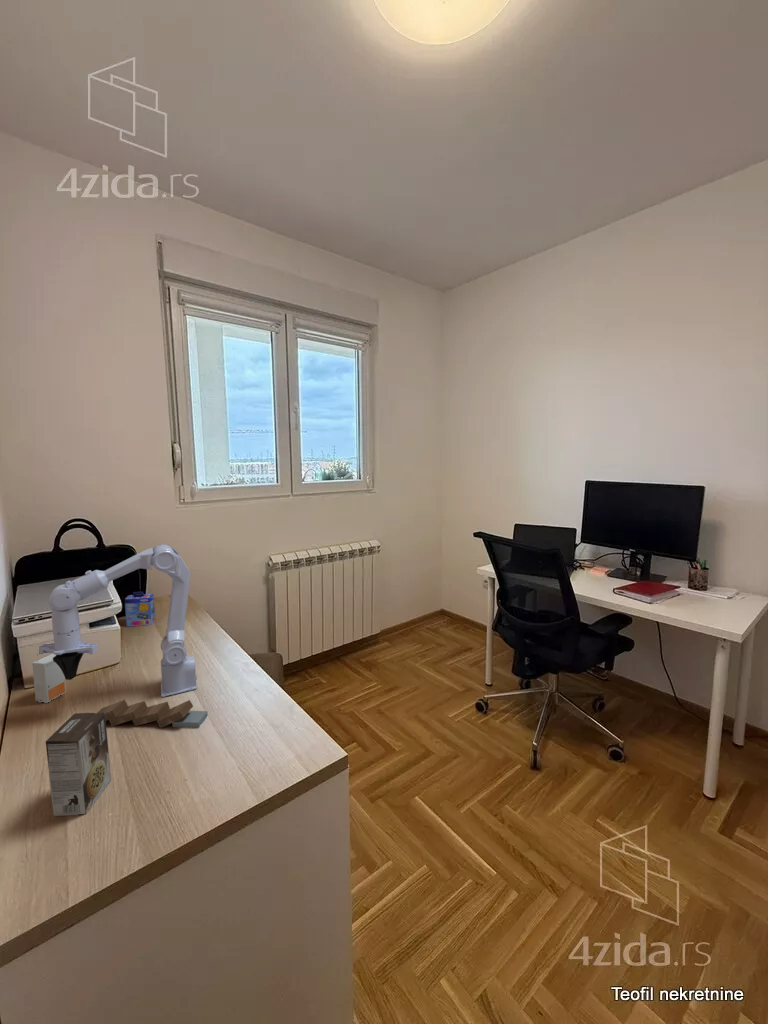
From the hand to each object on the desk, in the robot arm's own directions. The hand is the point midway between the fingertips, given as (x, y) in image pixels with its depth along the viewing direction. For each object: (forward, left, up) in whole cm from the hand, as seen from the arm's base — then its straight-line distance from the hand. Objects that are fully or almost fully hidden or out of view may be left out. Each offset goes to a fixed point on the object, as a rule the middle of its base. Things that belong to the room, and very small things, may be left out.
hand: (71, 677), depth 113 cm
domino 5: (-25, +17, -10) cm, 32 cm away
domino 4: (-22, +16, -10) cm, 28 cm away
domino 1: (-6, +7, -10) cm, 13 cm away
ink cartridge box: (-15, -64, -11) cm, 67 cm away
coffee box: (-6, +36, -11) cm, 38 cm away
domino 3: (-16, +12, -10) cm, 22 cm away
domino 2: (-10, +9, -10) cm, 17 cm away
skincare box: (+7, -13, -11) cm, 18 cm away
